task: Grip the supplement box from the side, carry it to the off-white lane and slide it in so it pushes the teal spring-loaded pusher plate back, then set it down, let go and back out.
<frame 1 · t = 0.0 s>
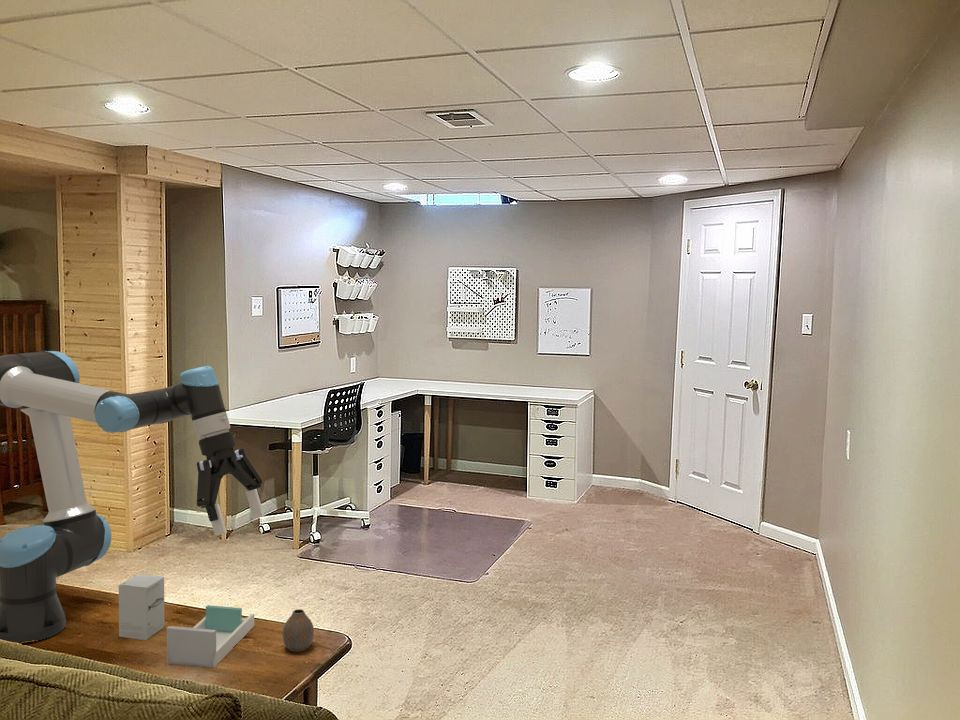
hand: (240, 525, 178), 28 cm above the table, tool tilted 20°, fingers open, 13 cm apart
vase: (298, 649, 179), on the table
lane: (213, 643, 180), on the table
pusher: (223, 618, 185), point 4 cm above the table, slide at 0.0 cm
supplement box: (142, 633, 185), on the table
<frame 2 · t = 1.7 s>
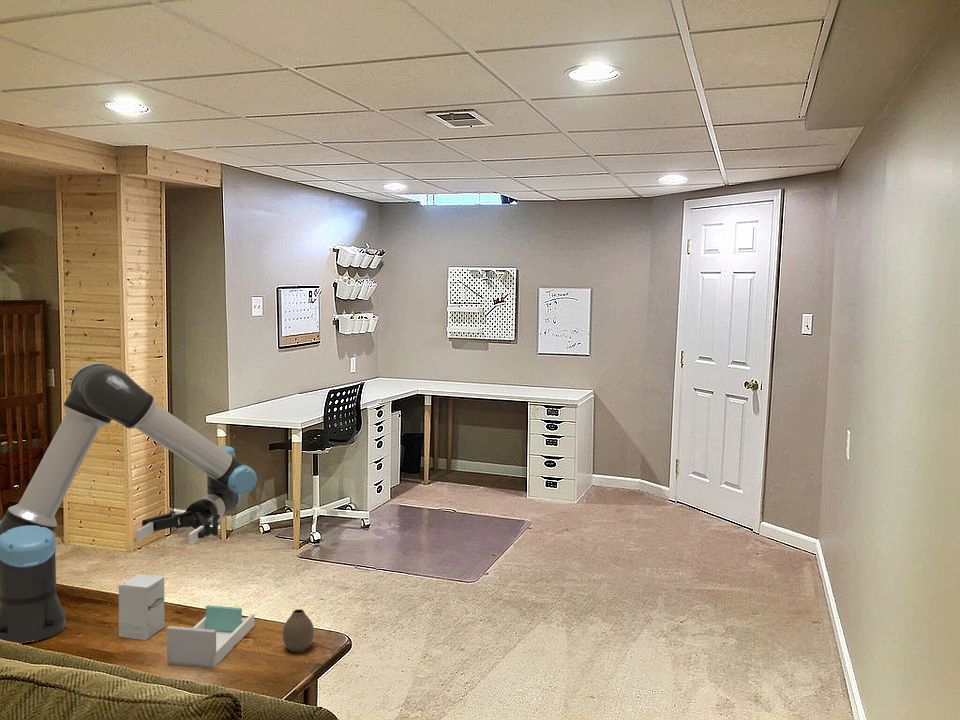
hand: (163, 537, 193), 20 cm above the table, tool horizontal, fingers open, 13 cm apart
nothing on the table moved.
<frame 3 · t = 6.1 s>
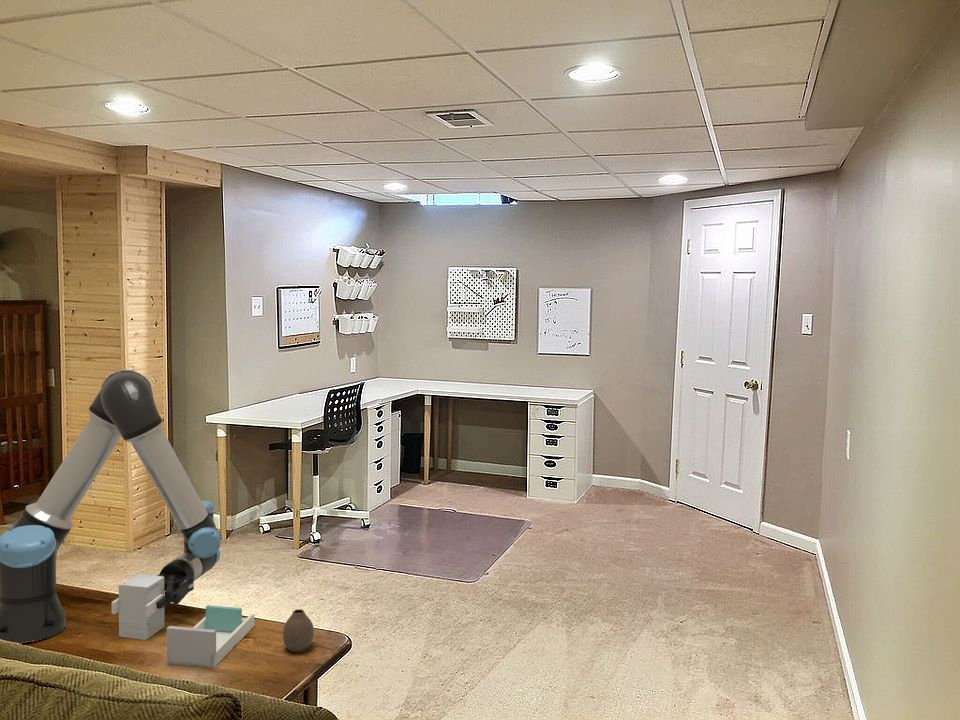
hand: (130, 609, 179), 8 cm above the table, tool horizontal, fingers closed on supplement box, 7 cm apart
supplement box: (142, 633, 185), on the table, touching gripper
everything else where it was.
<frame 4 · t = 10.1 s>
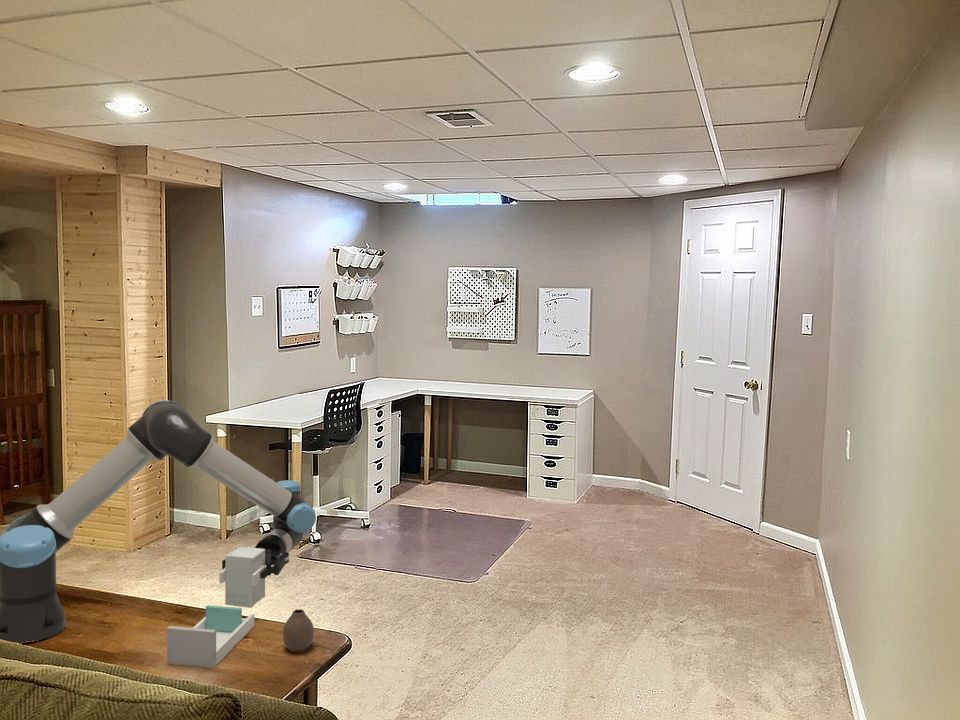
hand: (237, 579, 192), 10 cm above the table, tool horizontal, fingers closed on supplement box, 7 cm apart
supplement box: (245, 601, 197), point 3 cm above the table, touching gripper
everything else where it was.
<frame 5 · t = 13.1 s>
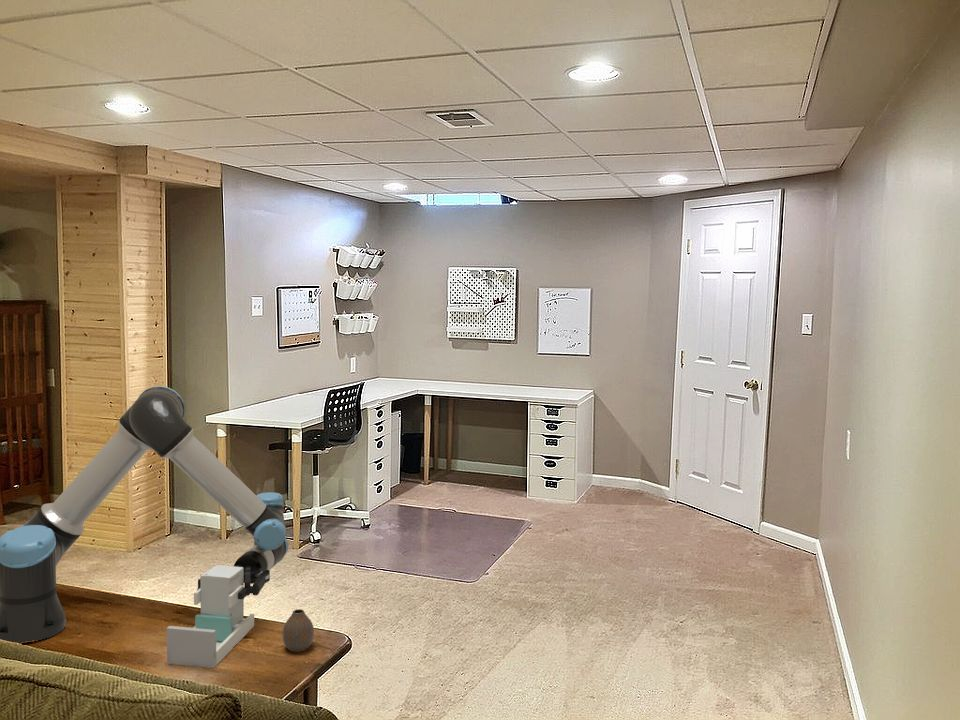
hand: (212, 600, 179), 10 cm above the table, tool horizontal, fingers closed on supplement box, 7 cm apart
pusher: (213, 628, 180), point 4 cm above the table, slide at 5.1 cm, touching supplement box
supplement box: (222, 623, 185), point 3 cm above the table, touching gripper, pusher
everything else where it was.
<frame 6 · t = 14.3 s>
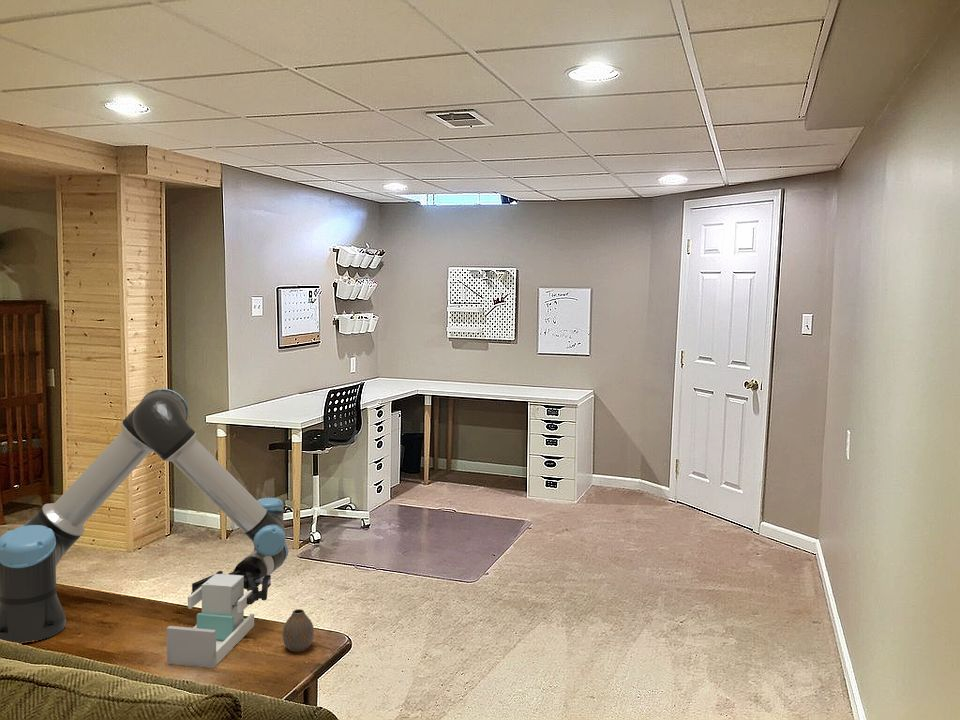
hand: (214, 604, 180), 9 cm above the table, tool horizontal, fingers open, 11 cm apart
pusher: (215, 626, 181), point 4 cm above the table, slide at 4.4 cm, touching supplement box
supplement box: (223, 632, 185), resting on lane, pusher
everything else where it was.
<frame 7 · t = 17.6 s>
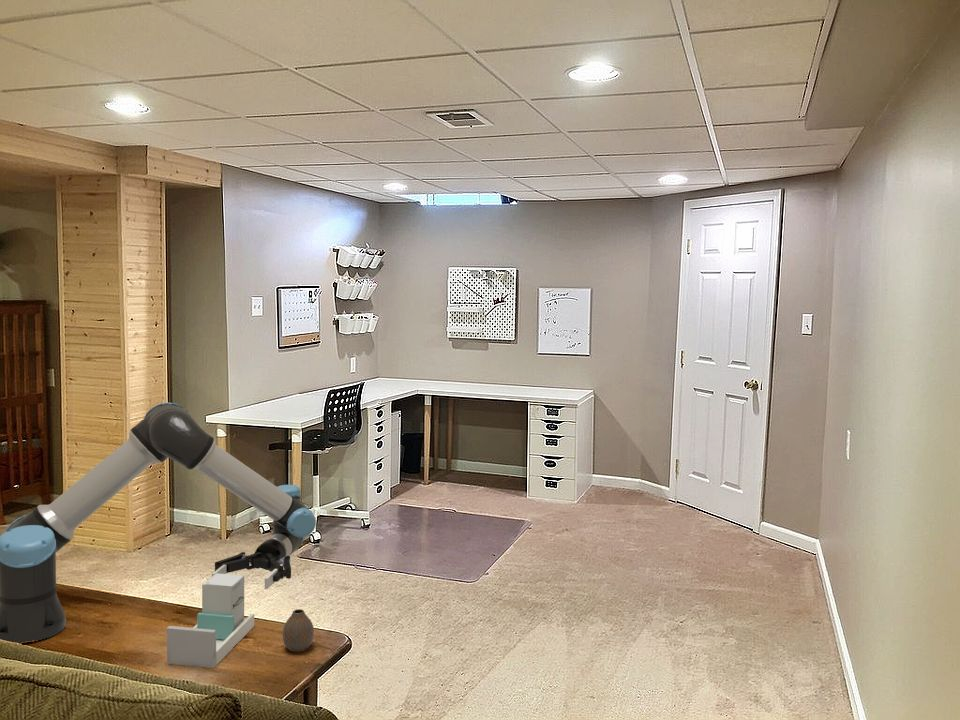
hand: (239, 581, 193), 9 cm above the table, tool horizontal, fingers open, 13 cm apart
nothing on the table moved.
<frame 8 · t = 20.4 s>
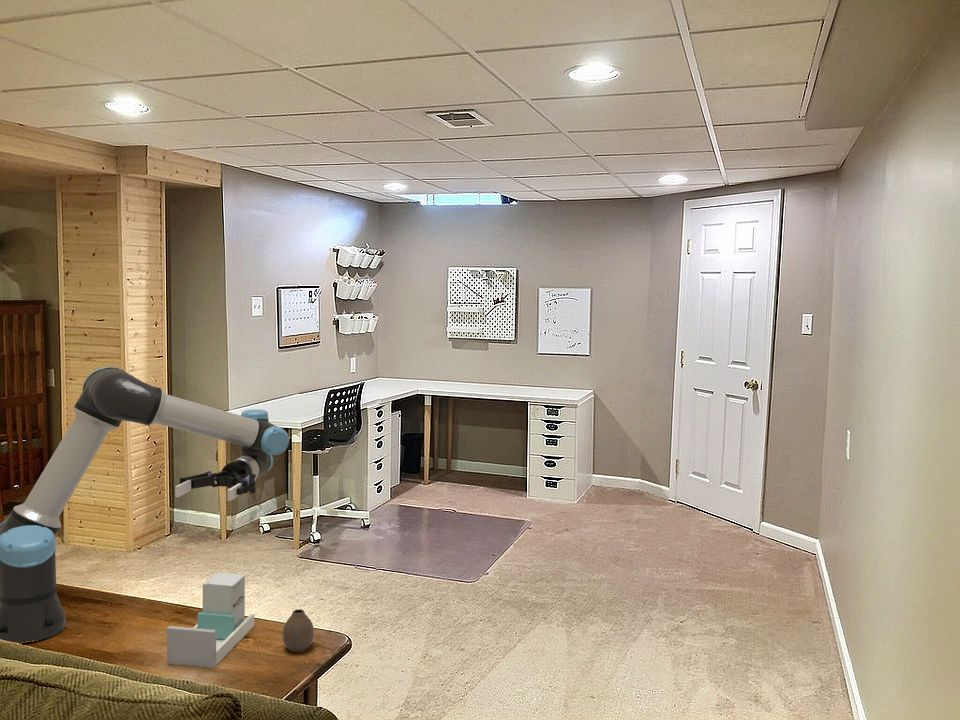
hand: (202, 493, 194), 30 cm above the table, tool horizontal, fingers open, 13 cm apart
nothing on the table moved.
at the end: supplement box 5.8 cm from the lane (horizontally); pusher slide at 3.9 cm; supplement box tilted 0° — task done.
